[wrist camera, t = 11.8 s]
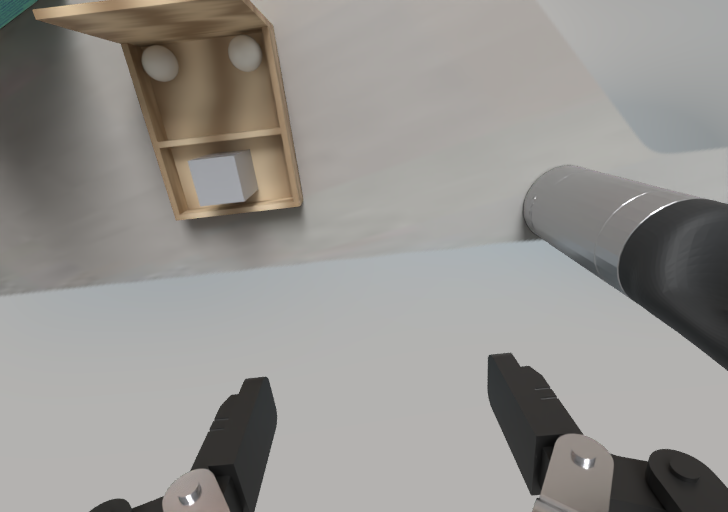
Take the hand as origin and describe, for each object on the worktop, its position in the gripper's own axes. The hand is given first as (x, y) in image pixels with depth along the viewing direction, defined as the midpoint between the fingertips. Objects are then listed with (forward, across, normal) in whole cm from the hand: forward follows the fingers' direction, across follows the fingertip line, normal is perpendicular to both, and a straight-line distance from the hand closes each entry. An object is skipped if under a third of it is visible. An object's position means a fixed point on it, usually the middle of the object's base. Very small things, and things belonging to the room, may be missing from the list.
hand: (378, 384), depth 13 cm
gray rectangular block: (+32, +14, -4) cm, 35 cm away
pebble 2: (+30, +10, -16) cm, 35 cm away
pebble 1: (+30, +18, -16) cm, 39 cm away
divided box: (+32, +14, -9) cm, 36 cm away
